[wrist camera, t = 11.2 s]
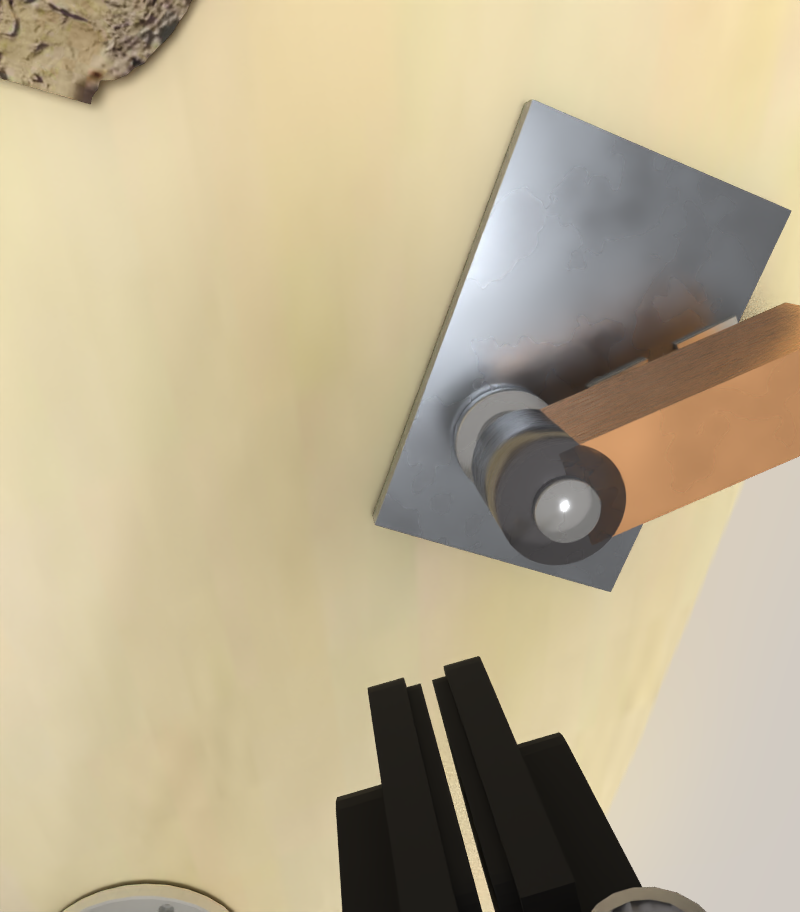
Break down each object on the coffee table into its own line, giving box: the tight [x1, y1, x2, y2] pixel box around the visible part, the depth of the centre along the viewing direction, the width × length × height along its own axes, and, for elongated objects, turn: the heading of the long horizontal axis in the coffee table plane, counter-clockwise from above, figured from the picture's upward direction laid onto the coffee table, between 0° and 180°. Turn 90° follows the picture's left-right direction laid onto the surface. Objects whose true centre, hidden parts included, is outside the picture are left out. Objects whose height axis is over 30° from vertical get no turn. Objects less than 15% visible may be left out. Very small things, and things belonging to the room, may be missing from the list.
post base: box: [373, 100, 791, 592], centre depth 34 cm, size 20×13×4 cm
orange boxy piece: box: [471, 303, 800, 565], centre depth 30 cm, size 15×5×6 cm, turn 113°
